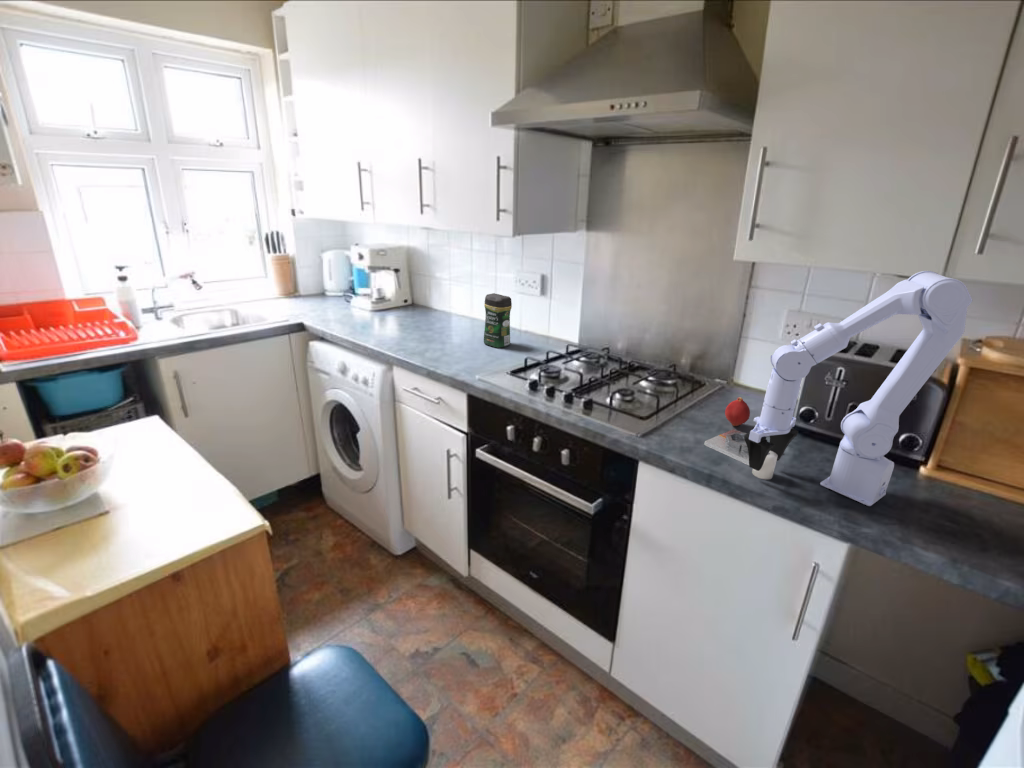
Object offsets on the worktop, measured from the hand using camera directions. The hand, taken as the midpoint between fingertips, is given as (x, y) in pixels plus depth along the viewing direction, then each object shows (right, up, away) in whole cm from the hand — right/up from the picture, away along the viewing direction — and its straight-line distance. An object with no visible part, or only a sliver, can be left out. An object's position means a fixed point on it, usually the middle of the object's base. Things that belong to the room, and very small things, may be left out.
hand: (764, 463), depth 110 cm
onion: (+4, +6, +23) cm, 24 cm away
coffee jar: (-59, +31, +81) cm, 105 cm away
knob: (0, -3, +1) cm, 3 cm away
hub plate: (0, +2, +12) cm, 12 cm away
